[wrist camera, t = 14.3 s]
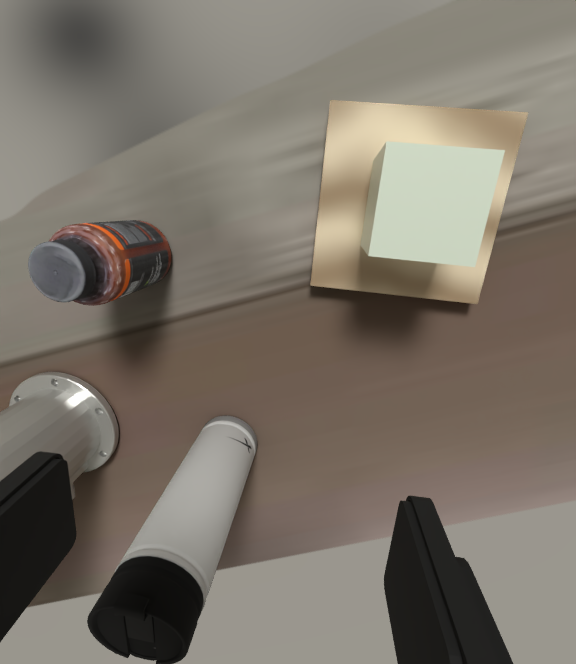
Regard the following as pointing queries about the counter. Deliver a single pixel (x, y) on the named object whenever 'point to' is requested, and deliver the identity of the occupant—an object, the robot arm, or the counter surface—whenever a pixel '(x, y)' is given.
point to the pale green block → (429, 202)
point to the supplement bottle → (99, 261)
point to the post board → (353, 186)
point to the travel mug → (177, 550)
